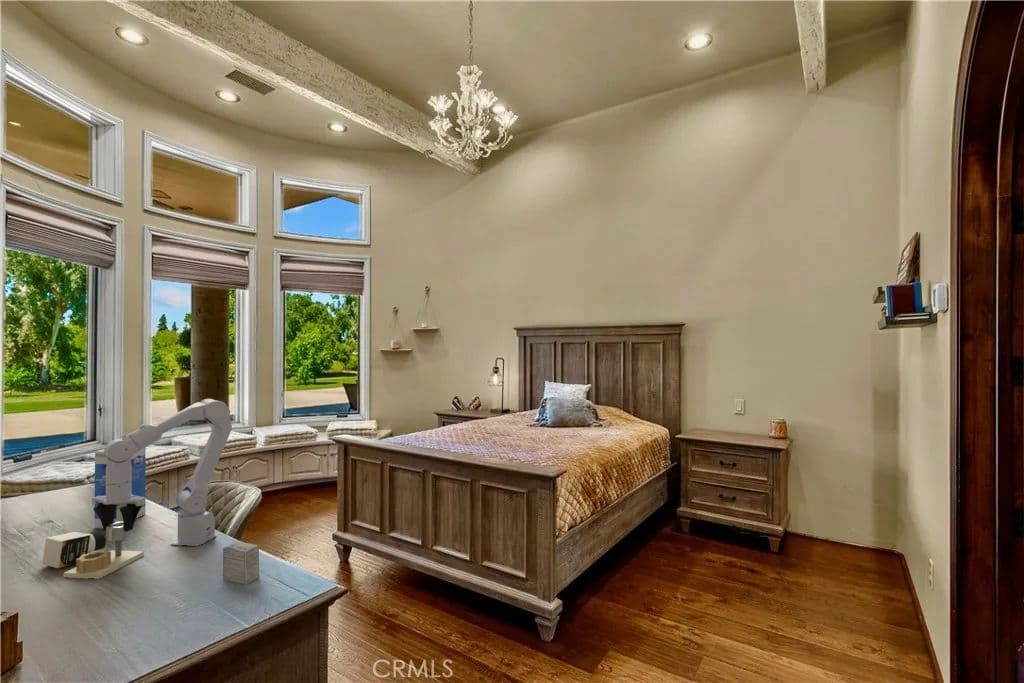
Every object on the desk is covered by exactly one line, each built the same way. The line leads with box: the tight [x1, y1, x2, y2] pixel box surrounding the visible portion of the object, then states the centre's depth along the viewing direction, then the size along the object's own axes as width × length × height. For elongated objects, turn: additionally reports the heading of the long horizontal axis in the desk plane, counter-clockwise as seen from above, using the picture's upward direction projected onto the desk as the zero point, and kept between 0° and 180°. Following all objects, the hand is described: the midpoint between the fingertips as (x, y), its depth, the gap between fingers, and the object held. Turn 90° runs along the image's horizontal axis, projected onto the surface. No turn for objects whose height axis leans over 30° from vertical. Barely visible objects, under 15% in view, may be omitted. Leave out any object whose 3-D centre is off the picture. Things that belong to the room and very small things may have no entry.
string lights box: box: [93, 447, 147, 529], centre depth 167 cm, size 13×8×26 cm, turn 178°
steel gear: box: [105, 521, 132, 542], centre depth 137 cm, size 6×6×4 cm
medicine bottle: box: [41, 530, 107, 569], centre depth 137 cm, size 7×7×12 cm
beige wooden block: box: [222, 541, 260, 586], centre depth 126 cm, size 8×4×9 cm, turn 71°
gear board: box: [63, 539, 145, 580], centre depth 134 cm, size 10×14×6 cm
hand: (118, 529), depth 137 cm, fingers closed on steel gear, 6 cm apart
